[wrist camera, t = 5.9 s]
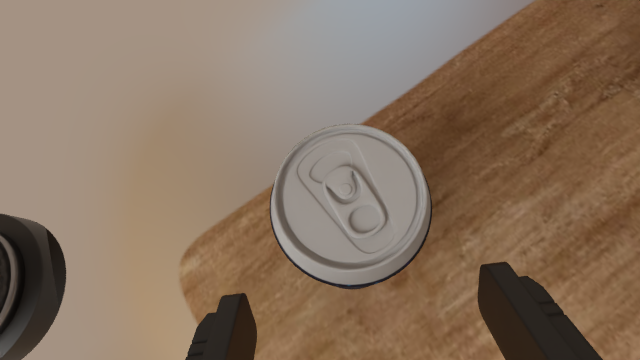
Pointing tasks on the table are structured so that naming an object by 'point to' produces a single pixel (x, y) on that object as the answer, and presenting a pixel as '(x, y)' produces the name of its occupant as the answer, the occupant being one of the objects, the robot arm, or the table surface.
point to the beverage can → (350, 206)
